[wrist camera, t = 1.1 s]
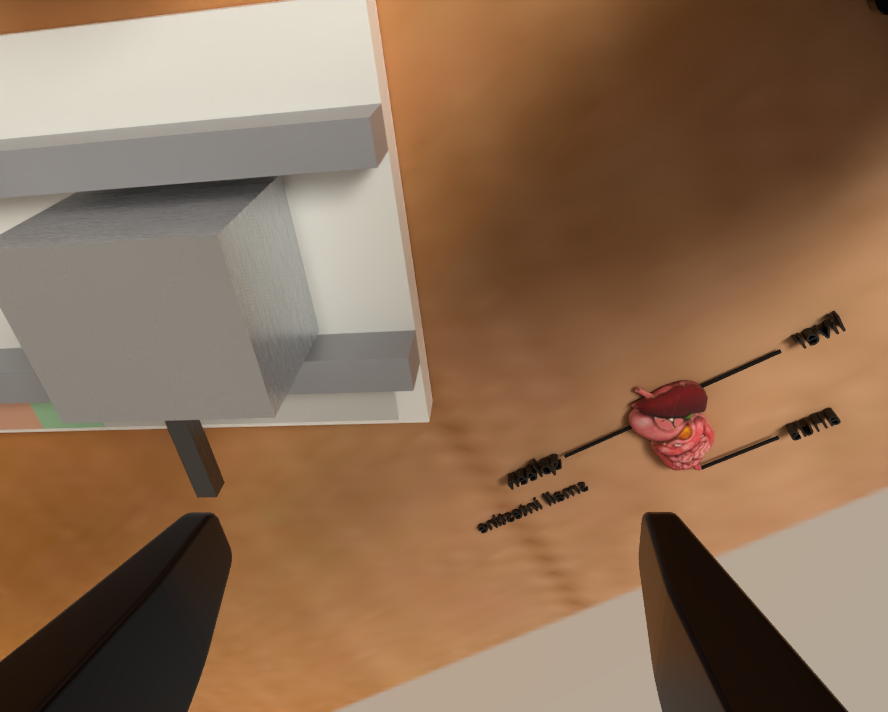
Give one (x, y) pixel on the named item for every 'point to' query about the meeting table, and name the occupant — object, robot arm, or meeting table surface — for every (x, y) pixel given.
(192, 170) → the gauge bed
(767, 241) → the meeting table surface
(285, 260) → the brushed metal block
